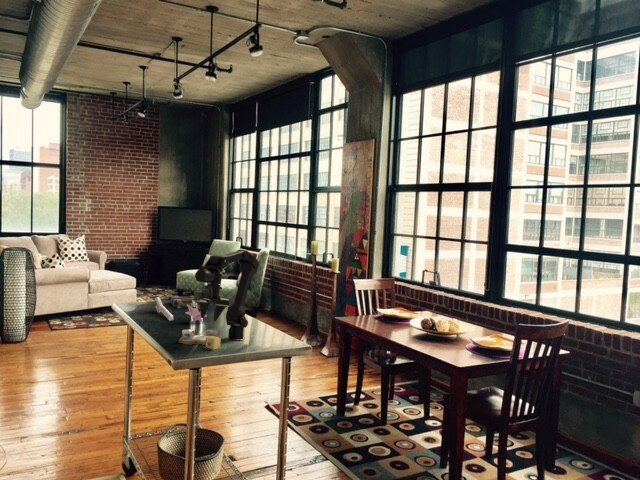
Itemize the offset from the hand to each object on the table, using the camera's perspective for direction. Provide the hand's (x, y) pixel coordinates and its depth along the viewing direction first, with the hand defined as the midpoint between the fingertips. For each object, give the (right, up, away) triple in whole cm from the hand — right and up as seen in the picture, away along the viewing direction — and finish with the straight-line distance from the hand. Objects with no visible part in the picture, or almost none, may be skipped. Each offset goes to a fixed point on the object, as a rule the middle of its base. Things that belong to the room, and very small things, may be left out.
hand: (208, 319), depth 234 cm
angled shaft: (-11, -10, +9) cm, 17 cm away
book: (-33, -6, +93) cm, 99 cm away
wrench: (-38, -7, +63) cm, 74 cm away
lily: (-17, -9, +48) cm, 52 cm away
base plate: (-6, -12, +10) cm, 17 cm away
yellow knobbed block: (+2, -13, 0) cm, 13 cm away
